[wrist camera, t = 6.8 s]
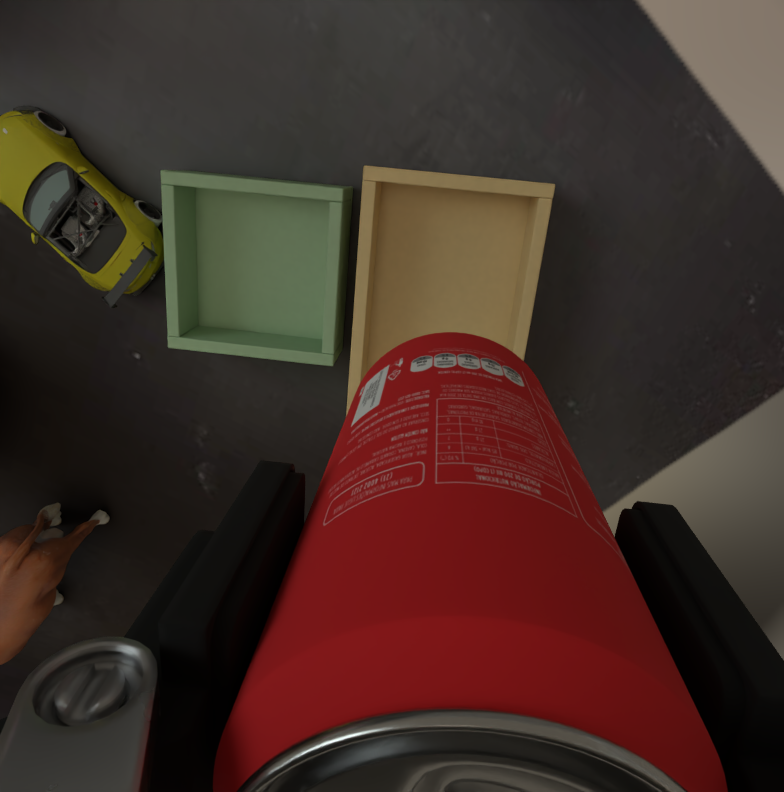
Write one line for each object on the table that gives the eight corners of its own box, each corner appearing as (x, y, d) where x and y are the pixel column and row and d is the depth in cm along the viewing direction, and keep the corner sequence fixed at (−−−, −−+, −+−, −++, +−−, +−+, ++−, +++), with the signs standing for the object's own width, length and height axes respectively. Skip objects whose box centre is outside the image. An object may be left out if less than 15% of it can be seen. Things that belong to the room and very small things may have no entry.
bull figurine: (-17, 601, 40) (-127, 703, 32) (72, 466, 35) (-29, 545, 28) (40, 637, 40) (-55, 744, 33) (135, 508, 36) (52, 597, 28)
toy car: (27, 87, 28) (-19, 77, 25) (190, 239, 30) (164, 246, 27) (-25, 168, 30) (-73, 167, 27) (134, 308, 32) (104, 321, 29)
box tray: (371, 166, 28) (363, 165, 25) (544, 183, 28) (555, 184, 25) (351, 436, 33) (342, 460, 30) (497, 454, 33) (502, 480, 30)
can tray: (187, 170, 29) (159, 169, 26) (353, 186, 29) (343, 188, 26) (191, 332, 32) (167, 348, 29) (342, 349, 32) (333, 366, 29)
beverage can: (579, 371, 16) (923, 858, 5) (487, 521, 18) (571, 1135, 6) (402, 288, 15) (300, 596, 4) (327, 451, 17) (114, 971, 6)
